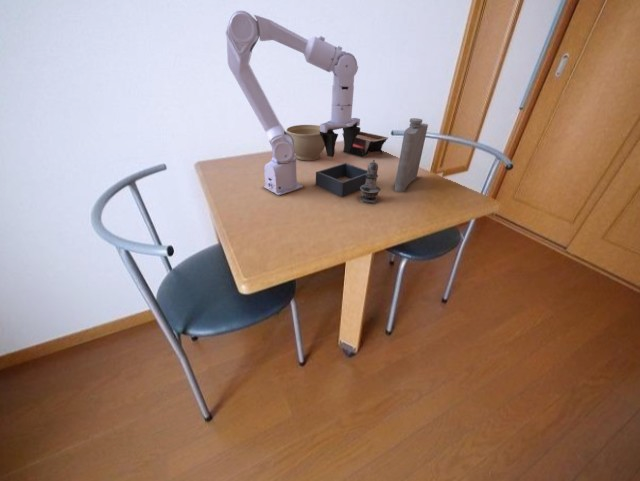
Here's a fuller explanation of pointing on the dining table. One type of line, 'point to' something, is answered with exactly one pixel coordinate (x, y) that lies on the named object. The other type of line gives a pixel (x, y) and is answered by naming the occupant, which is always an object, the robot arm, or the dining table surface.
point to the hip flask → (410, 153)
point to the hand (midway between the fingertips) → (339, 153)
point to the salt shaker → (370, 185)
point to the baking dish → (367, 144)
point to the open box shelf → (331, 175)
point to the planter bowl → (306, 141)
